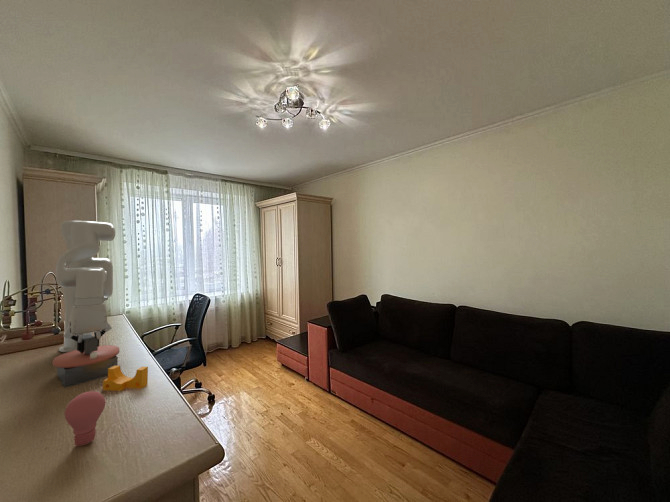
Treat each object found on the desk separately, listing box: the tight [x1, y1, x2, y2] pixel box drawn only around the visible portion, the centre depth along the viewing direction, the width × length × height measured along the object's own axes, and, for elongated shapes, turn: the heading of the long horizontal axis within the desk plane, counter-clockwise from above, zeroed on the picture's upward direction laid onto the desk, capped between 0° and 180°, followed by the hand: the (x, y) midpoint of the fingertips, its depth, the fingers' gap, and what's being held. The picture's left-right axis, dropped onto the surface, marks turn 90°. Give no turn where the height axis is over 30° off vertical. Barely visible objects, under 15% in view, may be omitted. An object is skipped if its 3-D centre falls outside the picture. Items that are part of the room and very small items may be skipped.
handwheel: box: [52, 334, 120, 368], centre depth 97 cm, size 18×18×7 cm
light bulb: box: [64, 390, 106, 446], centre depth 63 cm, size 7×7×12 cm
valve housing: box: [56, 355, 119, 389], centre depth 97 cm, size 14×14×6 cm
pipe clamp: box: [102, 365, 149, 392], centre depth 89 cm, size 12×4×6 cm, turn 88°
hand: (88, 350), depth 97 cm, fingers closed on handwheel, 3 cm apart
